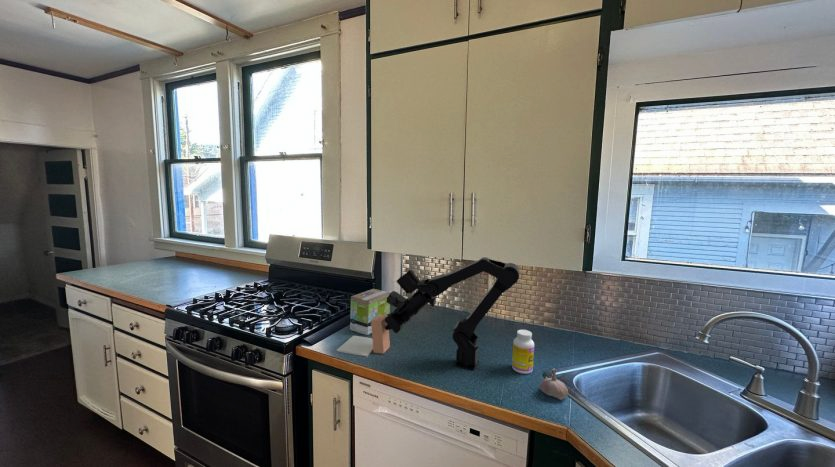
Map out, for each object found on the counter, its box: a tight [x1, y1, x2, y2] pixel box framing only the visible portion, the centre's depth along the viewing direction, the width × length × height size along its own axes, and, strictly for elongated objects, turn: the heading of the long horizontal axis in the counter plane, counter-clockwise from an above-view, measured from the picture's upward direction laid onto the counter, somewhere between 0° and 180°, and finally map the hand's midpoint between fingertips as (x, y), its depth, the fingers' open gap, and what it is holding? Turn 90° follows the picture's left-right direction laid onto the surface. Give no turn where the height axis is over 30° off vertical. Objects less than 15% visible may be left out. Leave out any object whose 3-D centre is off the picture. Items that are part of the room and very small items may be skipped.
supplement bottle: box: [511, 329, 535, 375], centre depth 114 cm, size 7×7×13 cm
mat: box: [336, 335, 373, 358], centre depth 129 cm, size 12×13×1 cm
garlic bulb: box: [539, 367, 569, 401], centre depth 100 cm, size 8×7×8 cm
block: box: [371, 315, 391, 354], centre depth 126 cm, size 4×6×12 cm, turn 162°
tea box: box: [349, 288, 391, 336], centre depth 146 cm, size 15×10×15 cm
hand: (386, 328), depth 125 cm, fingers closed
